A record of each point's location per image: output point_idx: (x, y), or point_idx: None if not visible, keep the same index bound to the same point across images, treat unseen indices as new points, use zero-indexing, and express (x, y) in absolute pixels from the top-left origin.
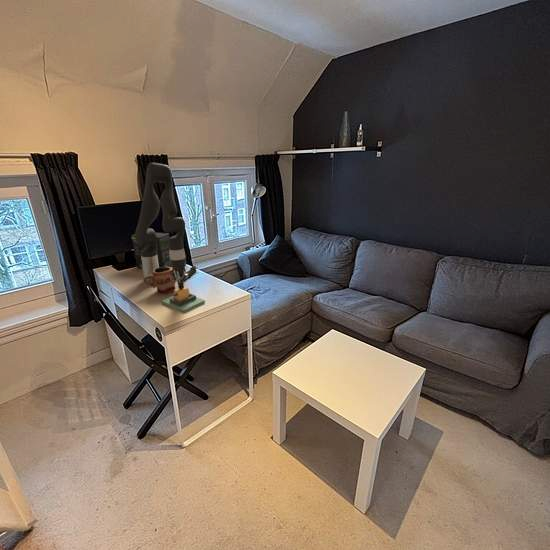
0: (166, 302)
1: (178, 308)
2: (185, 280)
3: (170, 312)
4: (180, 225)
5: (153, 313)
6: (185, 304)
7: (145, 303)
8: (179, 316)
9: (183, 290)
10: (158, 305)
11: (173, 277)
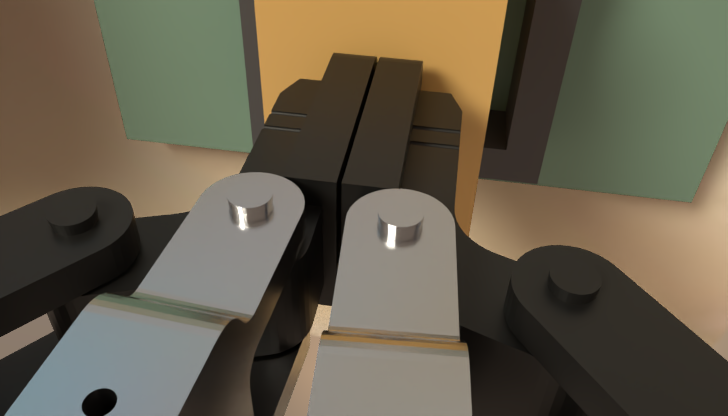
0: (237, 144)
1: (549, 178)
2: (622, 332)
3: (481, 237)
4: None
5: (322, 316)
6: (583, 50)
7: (5, 205)
8: (678, 262)
9: (487, 110)
10: (174, 175)
11: (4, 400)
